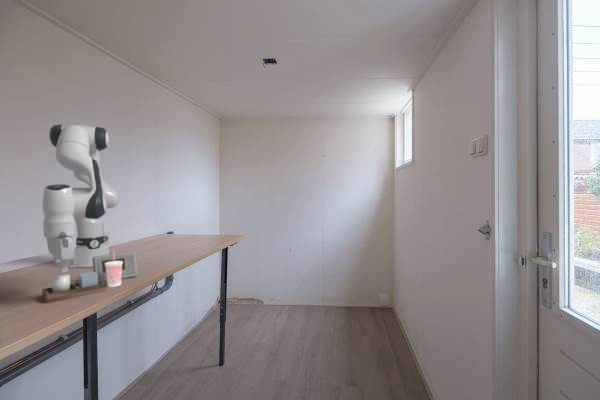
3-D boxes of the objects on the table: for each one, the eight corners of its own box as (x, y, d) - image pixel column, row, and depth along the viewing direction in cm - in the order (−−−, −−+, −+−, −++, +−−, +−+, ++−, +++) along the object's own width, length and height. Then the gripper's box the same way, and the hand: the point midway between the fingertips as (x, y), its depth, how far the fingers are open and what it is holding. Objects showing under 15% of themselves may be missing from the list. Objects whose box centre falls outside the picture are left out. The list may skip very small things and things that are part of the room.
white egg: (50, 293, 108) (50, 276, 108) (68, 289, 112) (68, 273, 112) (53, 296, 105) (53, 278, 105) (71, 292, 109) (71, 275, 108)
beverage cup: (110, 282, 124) (109, 248, 124) (126, 282, 125) (125, 248, 124) (101, 287, 118) (101, 251, 118) (118, 287, 118) (117, 251, 118)
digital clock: (92, 284, 122) (91, 258, 121) (94, 279, 130) (93, 254, 129) (138, 278, 130) (137, 253, 130) (137, 274, 138) (137, 250, 137)
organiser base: (42, 296, 108) (42, 289, 108) (98, 285, 121) (97, 278, 121) (47, 303, 102) (47, 294, 102) (105, 290, 115) (105, 283, 114)
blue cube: (78, 287, 114) (78, 274, 114) (94, 284, 118) (93, 271, 118) (82, 290, 111) (81, 276, 111) (98, 287, 115) (97, 273, 114)
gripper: (78, 233, 103) (79, 273, 104) (64, 226, 117) (65, 262, 118) (54, 235, 99) (56, 277, 99) (42, 228, 112) (44, 265, 113)
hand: (61, 269), depth 109 cm, fingers open, 8 cm apart
